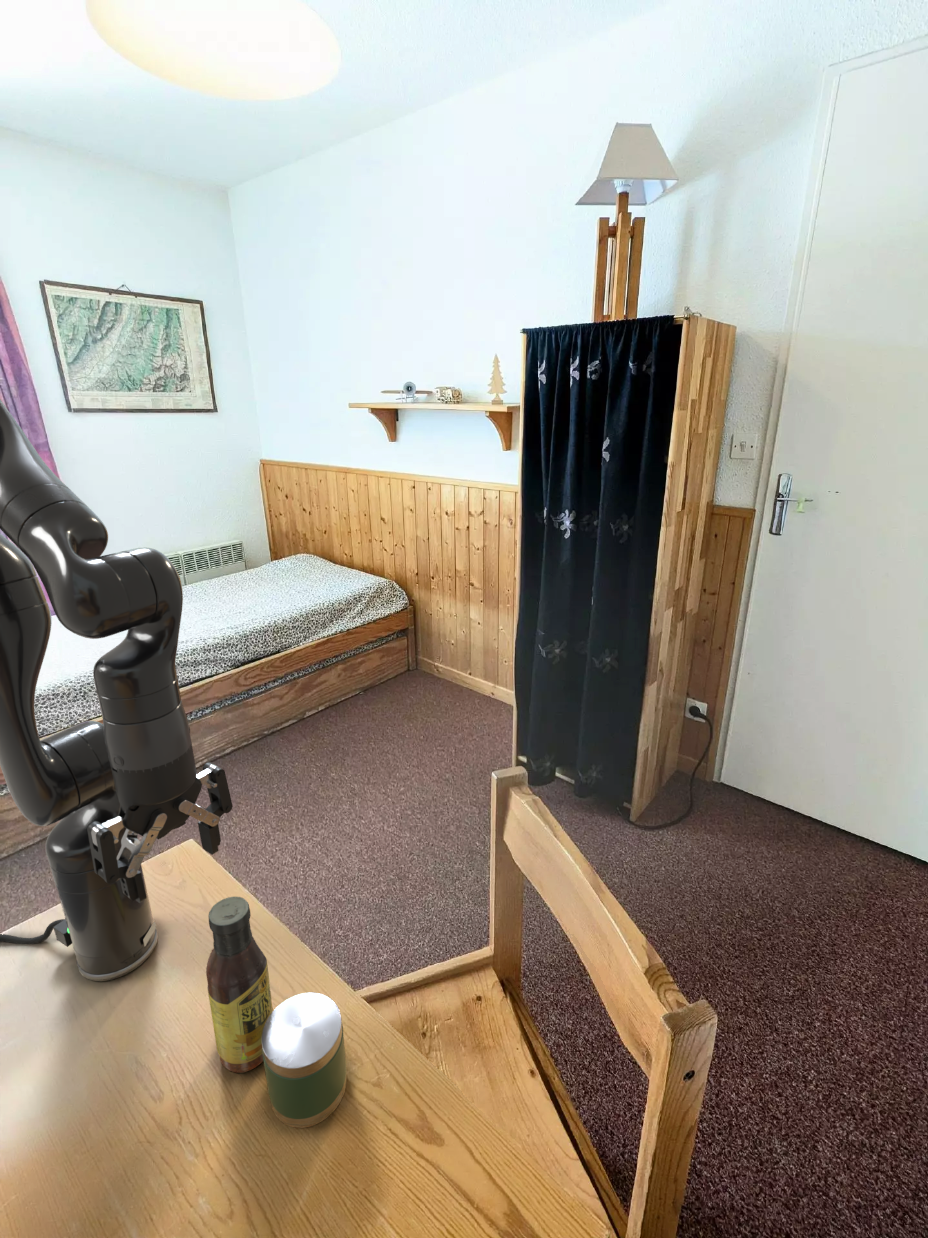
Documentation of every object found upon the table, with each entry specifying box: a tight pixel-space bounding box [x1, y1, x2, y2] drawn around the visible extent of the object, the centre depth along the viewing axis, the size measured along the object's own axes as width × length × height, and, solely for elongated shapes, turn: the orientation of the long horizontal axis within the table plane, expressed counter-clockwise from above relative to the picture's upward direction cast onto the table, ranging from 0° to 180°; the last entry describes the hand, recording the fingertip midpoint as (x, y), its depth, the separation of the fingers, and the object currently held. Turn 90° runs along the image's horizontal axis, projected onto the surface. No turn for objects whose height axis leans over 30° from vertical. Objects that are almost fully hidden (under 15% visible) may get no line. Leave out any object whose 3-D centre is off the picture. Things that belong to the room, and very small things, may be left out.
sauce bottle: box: [205, 896, 274, 1074], centre depth 66 cm, size 6×6×20 cm
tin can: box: [262, 991, 348, 1129], centre depth 64 cm, size 8×8×9 cm
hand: (176, 873), depth 67 cm, fingers open, 8 cm apart
